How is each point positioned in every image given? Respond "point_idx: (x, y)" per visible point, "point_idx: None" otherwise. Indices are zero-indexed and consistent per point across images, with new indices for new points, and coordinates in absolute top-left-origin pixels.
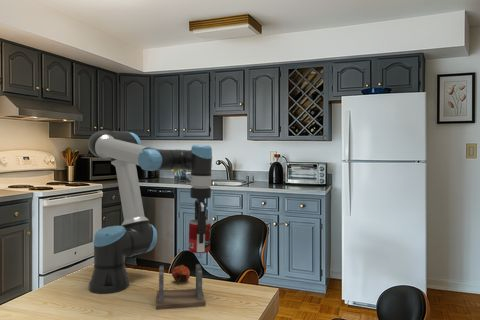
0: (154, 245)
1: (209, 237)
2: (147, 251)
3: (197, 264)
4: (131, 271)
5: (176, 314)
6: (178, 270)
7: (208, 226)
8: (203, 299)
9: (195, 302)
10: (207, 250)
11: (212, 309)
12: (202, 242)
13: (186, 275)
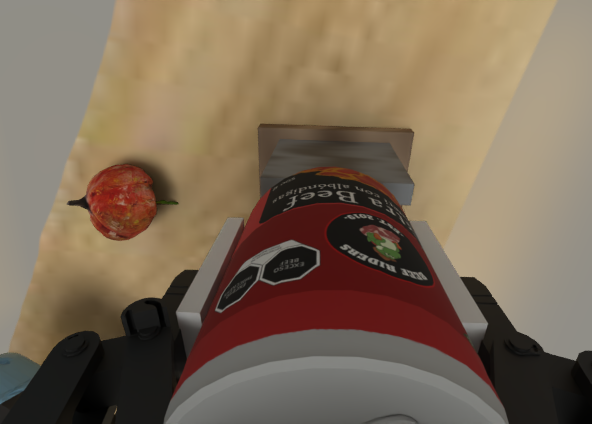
0: (8, 365)
1: (399, 229)
2: (36, 363)
3: (267, 190)
4: (43, 325)
5: (444, 227)
6: (140, 225)
7: (469, 348)
8: (385, 137)
9: (406, 170)
10: (391, 194)
11: (449, 106)
12: (479, 290)
13: (149, 184)
